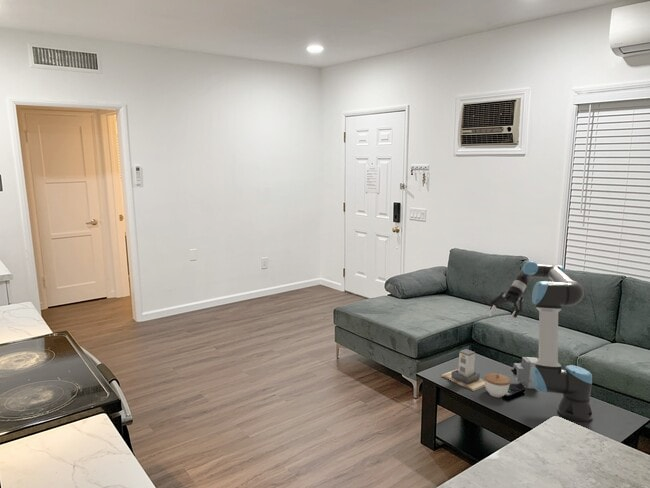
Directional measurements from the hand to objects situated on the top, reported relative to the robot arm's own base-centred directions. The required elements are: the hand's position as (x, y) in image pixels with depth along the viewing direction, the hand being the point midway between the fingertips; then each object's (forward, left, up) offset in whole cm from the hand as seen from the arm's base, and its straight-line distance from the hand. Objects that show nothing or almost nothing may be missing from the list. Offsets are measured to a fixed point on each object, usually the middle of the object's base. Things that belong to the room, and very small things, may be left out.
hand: (499, 318), depth 271 cm
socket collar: (-13, +20, -32) cm, 40 cm away
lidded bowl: (-28, +7, -34) cm, 44 cm away
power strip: (-13, +20, -32) cm, 40 cm away
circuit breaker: (-15, -12, -34) cm, 39 cm away
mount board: (-13, +20, -34) cm, 41 cm away
